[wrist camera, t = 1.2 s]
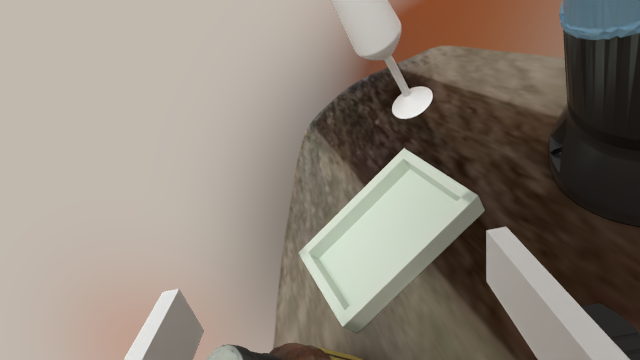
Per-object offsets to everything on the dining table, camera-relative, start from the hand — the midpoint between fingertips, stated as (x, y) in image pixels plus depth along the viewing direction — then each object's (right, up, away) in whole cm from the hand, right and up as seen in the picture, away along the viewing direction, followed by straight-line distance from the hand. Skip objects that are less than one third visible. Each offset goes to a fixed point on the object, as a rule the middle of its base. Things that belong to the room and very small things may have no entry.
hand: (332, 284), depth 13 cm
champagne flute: (+14, +17, +37) cm, 43 cm away
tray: (+8, -3, +27) cm, 28 cm away
